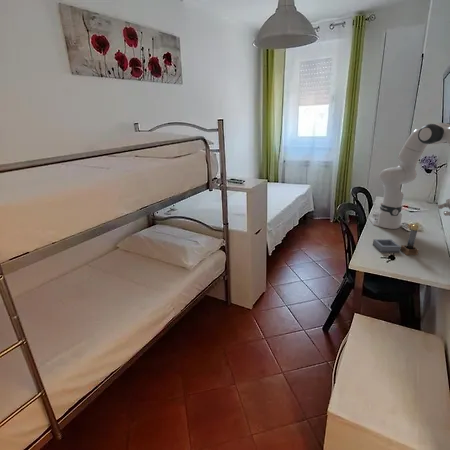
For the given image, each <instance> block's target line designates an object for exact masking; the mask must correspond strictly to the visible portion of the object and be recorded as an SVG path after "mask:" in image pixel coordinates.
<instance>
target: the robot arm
mask: <svg viewBox="0 0 450 450" xmlns="http://www.w3.org/2000/svg"><path fill="white" fill-rule="evenodd" d="M445 143H446V144H448V145H449V146H450V123H449V122H446V123H445V122H437V123H428V124H424V125H423V126H422V127H421V128H416V129H414V130H413V131H412V132H411V133H410V135H409V136H408V138H407V139H406V140H405V142H404V144H403V146H402V148H401V149H400V151H399V154H398V156H397V158H398V161H399V163H398V165H397V166H395V167H392V166H391V167H388V168H384V169H382V170H381V171H380V172H379V174H378V175H379V176H378V180H379V182H380V183H381V185H382V186H383V198H382V202H381V203H380V206H379V208H378V209H376V210H375V211H374V212H373V213H372V216H369V217H368V220H369V221H370V222H371V224H372V226H375V227H379V228H384V229H390V230H391V229H392V230H393V229H394V230H396V229H399V228H400V227H402V226H403V223H402V216H403V215H402V212H401V211H402V210H403V209H402V208H403V206H402V205H403V199H404V193H403V192H402V190H401V185H405V184H409V183H412V182H413V181H414V180H416V177H417V170H416V166H417V163H418V161H419V159H420V158H421V156H422V154H423V153H424V151H425V150H426V147H427V146H428V145H440V144H445ZM437 208H438V209H439V210H440V209H441V210H442V209H444V208H448V209H449V210H450V198H448V199H445V202H444V203H440V204H438V205H437ZM443 216H444V217H445V216H446V217H447V216H450V211H448V210H446V211H443Z"/></svg>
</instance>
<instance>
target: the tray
mask: <svg viewBox="0 0 450 450" xmlns="http://www.w3.org/2000/svg"><path fill="white" fill-rule="evenodd" d="M372 246H373V247H374V248H375V249H376V250H377V251H378V252H380V253H382V254H383V253H389V254H390V253H391V254H392V253H393V254H395V253H396V254H399V253H400V252H401V251H400V249H401V245H399V244H398V243H397V242H395V241H394V240H393V239H385V238H383V239H382V238H379V239H377V238H374V239H373V241H372Z"/></svg>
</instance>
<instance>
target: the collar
mask: <svg viewBox="0 0 450 450" xmlns="http://www.w3.org/2000/svg"><path fill="white" fill-rule="evenodd" d="M400 247H401V248H400V252H401V253H402V254H404V255H406V256H418V254H419V252H420V251H419V249H418V248H417V247H415V246H413V249H407V244H405V245H403V244H401V245H400Z"/></svg>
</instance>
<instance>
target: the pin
mask: <svg viewBox="0 0 450 450" xmlns="http://www.w3.org/2000/svg"><path fill="white" fill-rule="evenodd" d="M418 230H419V225H417V224H412V225H410V231H409V236H408V240H407V244H406V245H407V249H413V246H414V245H415V242H416V238H417V233H418ZM414 247H415V246H414Z"/></svg>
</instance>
